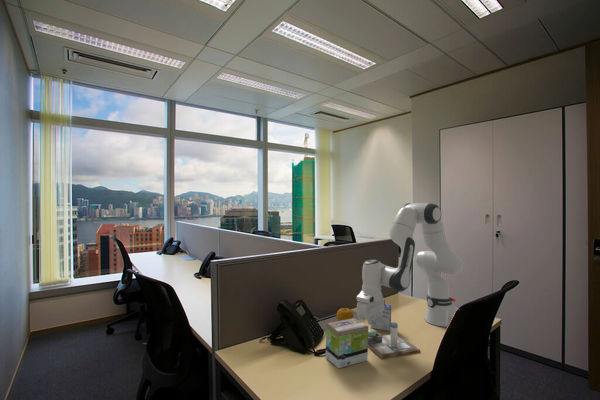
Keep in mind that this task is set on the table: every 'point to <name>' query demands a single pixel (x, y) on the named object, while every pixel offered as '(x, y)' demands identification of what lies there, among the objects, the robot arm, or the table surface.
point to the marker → (393, 335)
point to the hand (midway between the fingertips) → (371, 323)
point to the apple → (344, 314)
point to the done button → (371, 332)
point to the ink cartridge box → (383, 318)
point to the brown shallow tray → (384, 349)
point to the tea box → (346, 342)
